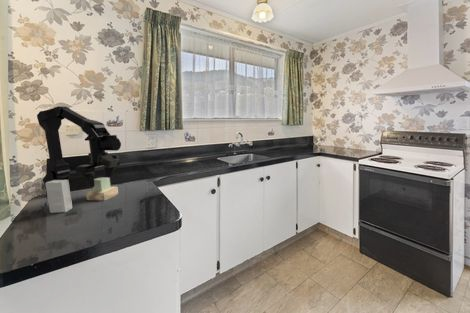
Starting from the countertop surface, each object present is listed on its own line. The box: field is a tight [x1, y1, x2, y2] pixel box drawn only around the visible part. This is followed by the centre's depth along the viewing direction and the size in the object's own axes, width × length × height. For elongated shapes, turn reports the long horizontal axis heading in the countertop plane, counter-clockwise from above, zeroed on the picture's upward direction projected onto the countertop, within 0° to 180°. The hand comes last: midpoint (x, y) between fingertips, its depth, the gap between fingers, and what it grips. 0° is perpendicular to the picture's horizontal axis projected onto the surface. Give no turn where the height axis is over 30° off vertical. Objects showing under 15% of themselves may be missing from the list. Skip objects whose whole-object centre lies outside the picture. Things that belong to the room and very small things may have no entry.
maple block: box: [85, 186, 119, 201], centre depth 105 cm, size 9×9×4 cm
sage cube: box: [92, 176, 112, 191], centre depth 104 cm, size 5×5×5 cm
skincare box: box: [44, 179, 73, 214], centre depth 88 cm, size 6×4×12 cm
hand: (101, 184), depth 104 cm, fingers open, 9 cm apart
